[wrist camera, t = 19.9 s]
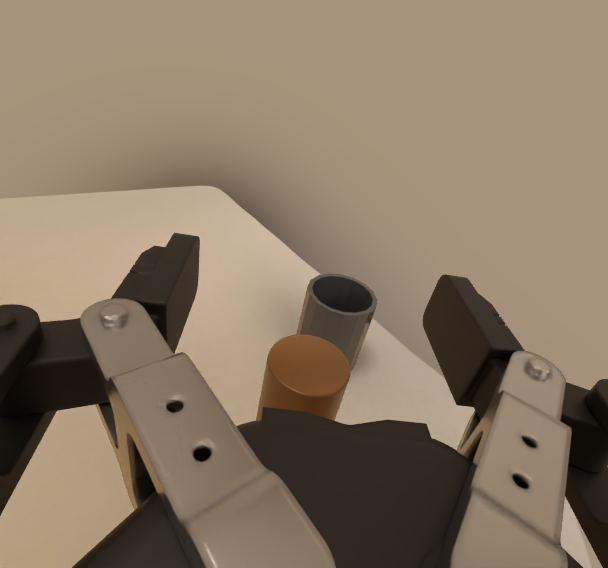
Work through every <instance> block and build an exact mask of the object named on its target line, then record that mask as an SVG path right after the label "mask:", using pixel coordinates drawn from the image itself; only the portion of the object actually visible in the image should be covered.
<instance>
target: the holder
mask: <svg viewBox="0 0 608 568" xmlns="http://www.w3.org/2000/svg"><path fill="white" fill-rule="evenodd" d="M376 304H377V299H376V296H375V294H374V292H373V291H372V290H371V289H370V288H369V287H368V286H366V285H365V284H364V283H362V282H360V281H358V280H356V279H354V278H351V277H348V276H344V275H339V274H324V275H318V276H317V277H315V278H313V279H311V281H310V283H309V285H308V287H307V291H306V296H305V300H304V304H303V308H302V313H301V317H300V321H299V326H298V330H297V334H296V335H311V336H315V337H319V338H322V339H324V340H326V341H328V342H330V343H332V344H333V345H335V346H336V347H337V348H338V349H340V351H341V352H342V353H343V354H344V355H345V357H346V359H347V360H348V363H349V366H350V372H351V370H352V369H353V367H354V365H355V363H356V361H357V358H358V355H359V352H360V350H361V347H362V344H363V341H364V339H365V336H366V333H367V331H368V328H369V325H370V322H371V320H372V317H373V314H374V311H375V309H376Z"/></svg>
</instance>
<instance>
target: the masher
mask: <svg viewBox="0 0 608 568" xmlns="http://www.w3.org/2000/svg"><path fill="white" fill-rule="evenodd" d="M349 378H350V366H349V363H348V360H347V359H346V357H345V355H344V354H343V353H342V352H341V351H340V349H338V348H337V347H336V346H335V345H333V344H332V343H330V342H328V341H326V340H324V339H322V338H319V337H315V336H311V335H292V336H288V337H285V338H283V339H281V340H279V341H278V342H277V343H275V344H274V346H273V347H272V348H271V350H270V351H269V354H268V358H267V364H266V369H265V374H264V380H263V385H262V390H261V396H260V401H259V406H258V412H257V417H256V421H259V420H261V414H262V409H263V407H268V408H278V409H288V410H297V411H305V412H308V413H312V414H315V415H318V416H321V417H324V418H327V419H330V420H333V421H334V420H335V417H336V414H337V412H338V409H339V406H340V403H341V401H342V398H343V395H344V392H345V390H346V387H347V384H348V381H349Z"/></svg>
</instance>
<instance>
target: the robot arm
mask: <svg viewBox="0 0 608 568" xmlns="http://www.w3.org/2000/svg"><path fill="white" fill-rule="evenodd" d="M199 248H200V240H199V237H198V236H192V235H185V234H179V233H174V234H173V235H172V237H171V239H170V241H169V242H168V244H167V246H166V247H159V246H153V247H152V248H150V249H148V250H146V251H145V252H143V253H142V254H141V255H140V257H139V258H138V260H137V261H136V262H135V265H133V267H132V268H131V270H130V273H128V274H127V276H126V277H125V279H124V280H123V282H122V283H121V285H120V286H119V288H118V289H117V291H116V292H115V293H114V295H113V296H112V298H111V299H108V300H103V301H100V302H97V303H95V304H93V305H91V306H90V307H88V308H87V309H86V310H85V311H84V312H83V314H82V316H81V318H78V319H73V320H63V321H51V322H40V319H39V316H38V314H37V312H36V311H35V310H33V309H32V308H29V307H26V306H22V305H1V306H0V515H1V513H2V511H3V509H4V508H5V506H6V504H7V502H8V500H9V498H10V497H11V495H12V493H13V491H14V489H15V487H16V485H17V484H18V482H19V480H20V478H21V476H22V474H23V472H24V471H25V469H26V467H27V465H28V463H29V461H30V459H31V458H32V456H33V454H34V452H35V450H36V448H37V446H38V445H39V443H40V441H41V439H42V437H43V435H44V433H45V432H46V430H47V428H48V426H49V424H50V422H51V420H52V419H53V417H54V415H55V413H56V411H57V410H63V409H70V408H76V407H82V406H88V405H94V404H95V405H96V407H97V410H98V412H99V415H100V417H101V420H102V422H103V425H104V427H105V429H106V432H107V434H108V437H109V439H110V442H111V444H112V447H113V449H114V452H115V454H116V457H117V459H118V462H119V465H120V468H121V472H122V476H123V479H124V483H125V486H126V489H127V492H128V495H129V498H130V500H131V503H132V505H133V508H134V510H135V511H134V512H132V513H131V514H130V515H129V516H128V517H127V518H126V519H125V520H124V521H123V522H121V523H120V524H119V525H118V526H117V527H116V528H115V529H114V530H113V531H111V532H110V533H109V534H108V535H107V536H106V537H105V538H104V539H103V540H102V541H100V542H99V543H98V544H97V545H96V546H95V547H94V548H93V549H92V550H91V551H89V552H88V553H87V554H86V555H85V556H84V557H83V558H82V559H81V560H80V561H78V562H77V563H76V564H75V565H74V566H73V567H72V568H583V567H582V566H581V565H580V564H579V563H578V562H577V561H576V560H575V559H574V558H572V557H571V556H570V555H569V554H568V553H567V552H566V551H565V550H564V549H563V548H562V547H561V543H560V538H561V528H562V519H563V509H564V500H565V497H566V499H567V500H568V502H569V504H570V506H571V508H572V510H573V512H574V514H575V516H576V518H577V519H578V521H579V523H580V525H581V527H582V529H583V531H584V533H585V535H586V536H587V538H588V540H589V542H590V544H591V546H592V548H593V550H594V552H595V554H596V556H597V557H598V559H599V561H600V563H601V565H602V567H603V568H608V467H607V466H608V379H602V380H599V381H598V382H597V383H596V384H595V386H594V387H593V388H592V389H591V390H587V389H584V388H581V387H578V386H575V385H573V384H570V383H567V382H566V380H565V377H564V375H563V374H562V372H561V371H560V370H559V369H558V368H557V367H556V366H555V365H554V364H553V363H551V362H550V361H548V360H547V359H545V358H543V357H541V356H539V355H537V354H534V353H532V352H528V351H524V349H523V348H522V346H521V345H520V343H519V342H518V341H517V339H516V338H515V337H514V335H513V334H512V332H511V331H510V329H509V328H508V327H507V326H505V322H504V321H503V320H502V318H501V317H499V314H498V313H497V311H496V310H495V308H494V307H493V305H492V304H490V303H489V302H488V301H487V300H486V299H485V298H483V297H482V296H481V295H479V294H478V293H477V291H476V290H475V288H474V287H473V285H472V284H471V283H470V281H469V280H468V279H467V278H464V277H458V276H451V275H443V276H441V277H440V279H439V280H438V283H437V285H436V287H435V289H434V292H433V294H432V296H431V298H430V300H429V303H428V305H427V307H426V309H425V312H424V315H423V327H424V330H425V332H426V335H427V337H428V339H429V342H430V344H431V346H432V349H433V351H434V353H435V356H436V358H437V360H438V363H439V365H440V367H441V370H442V372H443V374H444V376H445V379H446V381H447V384H448V386H449V388H450V391H451V393H452V395H453V398H454V400H455V402H456V405H460V406H469V407H474V409H475V412H474V413H473V415H472V416H471V418H470V420H469V422H468V424H467V427H466V429H465V431H464V434H463V436H462V438H461V441H460V443H459V445H458V448H457V450H455V449H453V448H451V447H450V446H448V445H446V444H444V443H442V442H440V441H437V440H435V439H432V438H431V436H430V433H429V430H428V427H427V424H424V423H414V422H404V421H395V420H383V421H376V422H369V423H362V424H355V425H346V424H342V423H339V422H336V421H333V420H330V419H327V418H324V417H321V416H318V415H315V414H312V413H308V412H305V411H297V410H288V409H278V408H268V407H263V409H262V414H261V420H259V421H252V422H248V423H244V424H241V425H239V426H236V425H235V424H234V423H233V421H232V420H231V418H230V417H229V415H228V414H227V412H226V411H225V409H224V408H223V406H222V405H221V403H220V402H219V400H218V399H217V397H216V396H215V395H214V393H213V392H212V390H211V389H210V387H209V386H208V384H207V383H206V381H205V380H204V378H203V377H202V375H201V374H200V372H199V371H198V369H197V368H196V366H195V365H194V364H193V362H192V361H191V359H190V358H189V356H188V355H187V354H185V353H183V352H182V353H179V354H176V355H174V353H175V350H176V348H177V345H178V342H179V339H180V337H181V334H182V331H183V329H184V326H185V323H186V321H187V318H188V315H189V312H190V310H191V307H192V304H193V302H194V299H195V296H196V292H197V286H198V274H199Z"/></svg>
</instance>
